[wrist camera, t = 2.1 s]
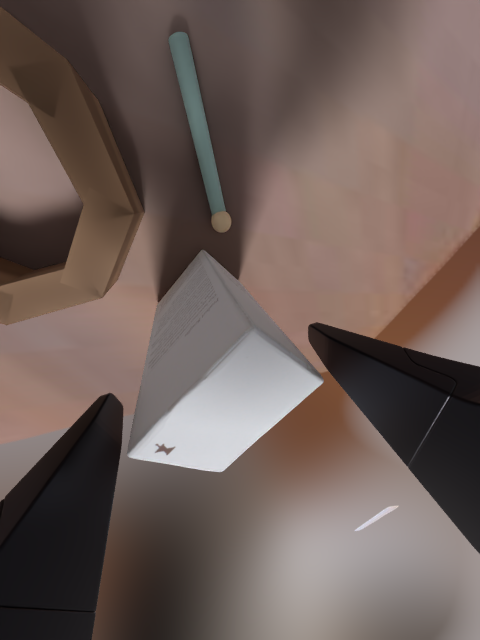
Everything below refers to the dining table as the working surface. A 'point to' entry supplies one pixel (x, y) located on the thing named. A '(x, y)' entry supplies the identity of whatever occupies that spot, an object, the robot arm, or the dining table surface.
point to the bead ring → (82, 169)
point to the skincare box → (214, 373)
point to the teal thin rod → (199, 127)
